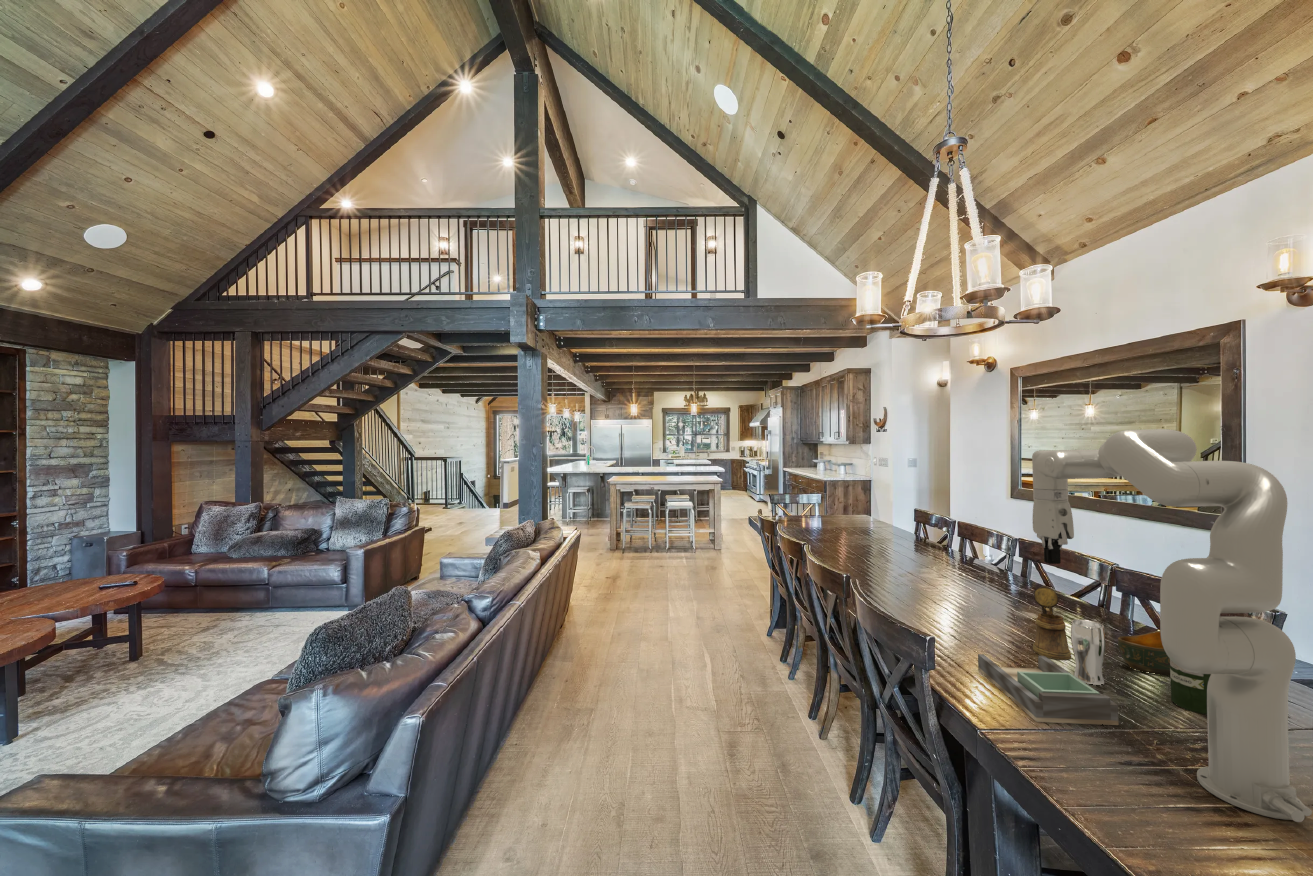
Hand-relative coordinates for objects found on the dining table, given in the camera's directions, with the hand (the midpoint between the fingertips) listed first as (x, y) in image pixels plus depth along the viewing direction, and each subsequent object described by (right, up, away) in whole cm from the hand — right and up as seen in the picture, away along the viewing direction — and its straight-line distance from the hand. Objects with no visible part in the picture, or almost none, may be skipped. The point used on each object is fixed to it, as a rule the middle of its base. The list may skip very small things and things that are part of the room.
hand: (1052, 563), depth 138 cm
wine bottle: (+20, -30, -17) cm, 40 cm away
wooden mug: (+11, -30, +15) cm, 36 cm away
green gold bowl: (+32, -30, +1) cm, 44 cm away
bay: (-11, -31, -11) cm, 34 cm away
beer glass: (+7, -30, -4) cm, 31 cm away
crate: (-12, -29, -17) cm, 36 cm away
